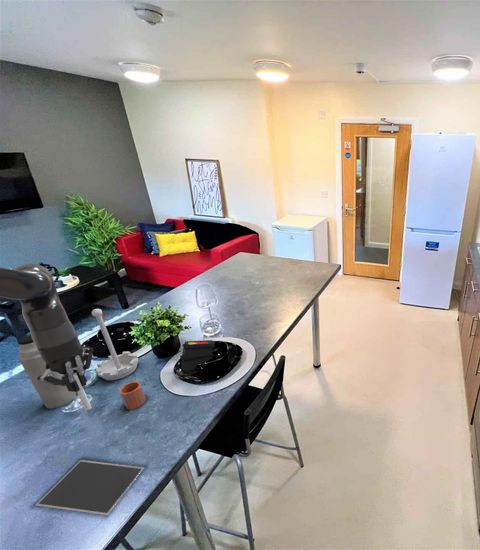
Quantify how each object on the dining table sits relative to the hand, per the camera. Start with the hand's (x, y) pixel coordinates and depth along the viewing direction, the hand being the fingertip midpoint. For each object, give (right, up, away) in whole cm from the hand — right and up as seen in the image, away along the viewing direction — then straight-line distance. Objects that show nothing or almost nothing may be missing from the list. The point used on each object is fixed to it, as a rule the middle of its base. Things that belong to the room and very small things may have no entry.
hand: (78, 388), depth 82 cm
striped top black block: (+12, -8, +40) cm, 42 cm away
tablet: (+7, -26, -3) cm, 27 cm away
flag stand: (-19, -8, +36) cm, 42 cm away
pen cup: (-1, -15, +22) cm, 27 cm away
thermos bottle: (-28, -14, +22) cm, 39 cm away
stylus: (0, -8, +4) cm, 9 cm away
